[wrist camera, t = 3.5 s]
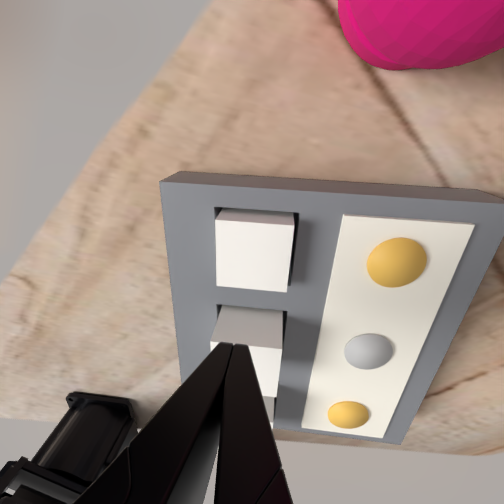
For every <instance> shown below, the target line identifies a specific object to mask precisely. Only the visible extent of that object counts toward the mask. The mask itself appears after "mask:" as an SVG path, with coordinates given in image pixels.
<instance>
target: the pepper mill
mask: <svg viewBox="0 0 504 504" xmlns="http://www.w3.org/2000/svg"><path fill="white" fill-rule="evenodd" d="M338 12H339V18H340V23H341V26H342V29H343V32H344V35H345V37H346V39H347V41H348V42H349V44H350V46H351V47H352V49H353V50H354V51H355V52H356V53H357V54H358V55H359V56H360V57H361V59H363V60H364V61H366V62H367V63H369V64H371V65H373V66H375V67H379V68H383V69H387V70H403V69H409V68H423V69H442V68H448V67H453V66H459V65H462V64H465V63H468V62H471V61H474V60H477V59H479V58H482V57H484V56H486V55H488V54H490V53H493V52H495V51H497V50H499V49H501V48H503V47H504V0H338Z"/></svg>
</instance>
